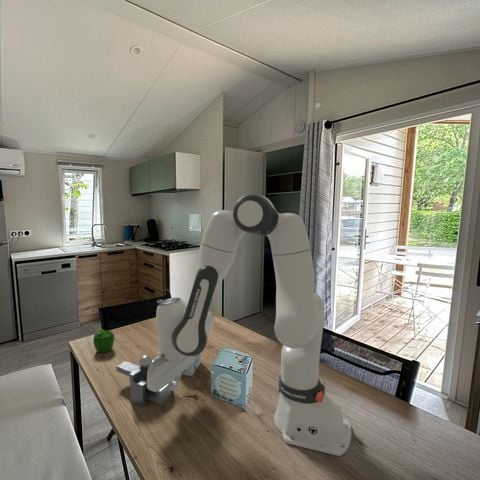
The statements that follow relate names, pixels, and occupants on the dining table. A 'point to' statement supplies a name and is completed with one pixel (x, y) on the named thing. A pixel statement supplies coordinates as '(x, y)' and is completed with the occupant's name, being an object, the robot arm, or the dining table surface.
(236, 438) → the dining table surface
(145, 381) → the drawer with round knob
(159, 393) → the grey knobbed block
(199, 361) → the light bulb box
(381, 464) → the dining table surface
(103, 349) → the bell pepper
